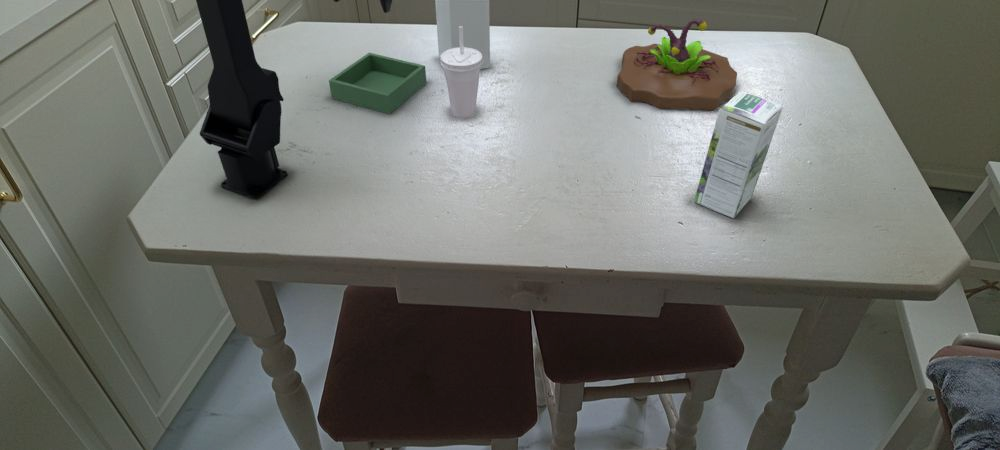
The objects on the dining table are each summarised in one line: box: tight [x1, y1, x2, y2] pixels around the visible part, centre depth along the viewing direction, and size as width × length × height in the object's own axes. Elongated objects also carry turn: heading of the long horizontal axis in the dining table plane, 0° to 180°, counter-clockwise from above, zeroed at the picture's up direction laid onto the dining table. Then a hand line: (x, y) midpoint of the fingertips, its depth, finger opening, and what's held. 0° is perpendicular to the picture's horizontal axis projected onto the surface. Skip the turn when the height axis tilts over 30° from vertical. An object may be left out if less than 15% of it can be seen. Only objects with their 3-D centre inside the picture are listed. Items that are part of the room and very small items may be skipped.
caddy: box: [328, 52, 427, 115], centre depth 107 cm, size 11×11×3 cm
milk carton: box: [434, 0, 491, 70], centre depth 110 cm, size 7×7×19 cm
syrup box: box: [693, 91, 784, 219], centre depth 81 cm, size 6×6×14 cm
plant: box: [616, 18, 738, 111], centre depth 107 cm, size 20×20×11 cm
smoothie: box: [440, 26, 483, 119], centre depth 98 cm, size 6×6×14 cm
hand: (361, 6), depth 98 cm, fingers open, 9 cm apart
